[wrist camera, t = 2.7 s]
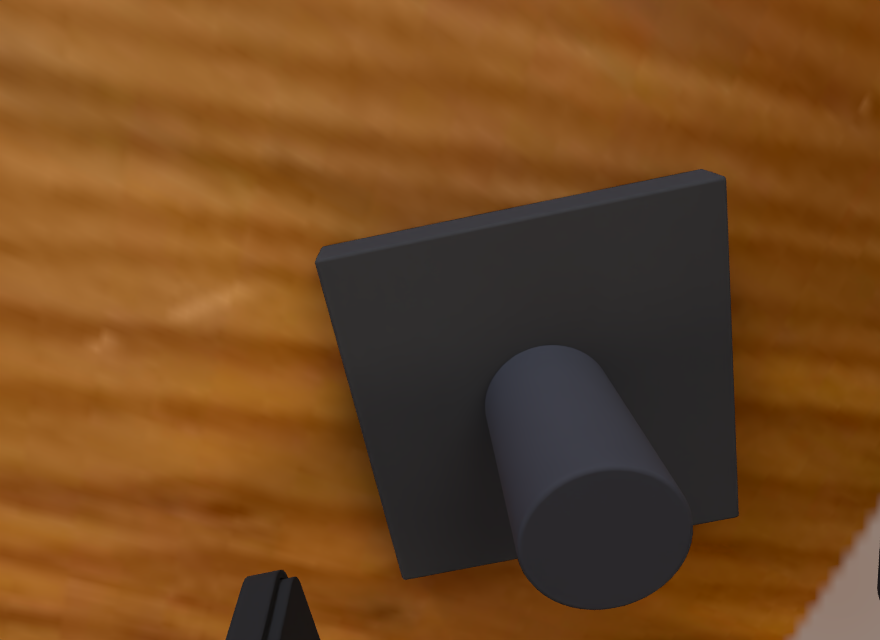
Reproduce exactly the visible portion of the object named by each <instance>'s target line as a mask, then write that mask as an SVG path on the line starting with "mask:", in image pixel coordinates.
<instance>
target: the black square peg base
mask: <svg viewBox="0 0 880 640" xmlns="http://www.w3.org/2000/svg"><path fill="white" fill-rule="evenodd" d="M315 264H316V268H317V271H318V275H319V279H320V282H321V286H322V290H323V293H324V297H325V300H326V304H327V308H328V311H329V315H330V318H331V322H332V326H333V329H334V333H335V336H336V340H337V344H338V347H339V351H340V355H341V358H342V362H343V365H344V369H345V373H346V376H347V380H348V383H349V387H350V391H351V394H352V398H353V401H354V405H355V409H356V412H357V416H358V420H359V423H360V427H361V430H362V434H363V438H364V441H365V445H366V448H367V452H368V456H369V459H370V463H371V466H372V470H373V474H374V477H375V481H376V485H377V488H378V492H379V495H380V499H381V503H382V506H383V510H384V513H385V517H386V521H387V524H388V528H389V531H390V535H391V539H392V542H393V546H394V550H395V553H396V557H397V560H398V564H399V568H400V571H401V575H402V577H403V579H404V580H407V579H412V578H418V577H423V576H428V575H433V574H439V573H444V572H449V571H455V570H460V569H465V568H470V567H476V566H481V565H486V564H491V563H497V562H502V561H507V560H513V559H518V561H519V564H520V566H521V568H522V571H523V573H524V574H525V576H526V577H527V579H528V580H529V581H530V582H531V583H532V585H533V586H534V587H535V588H536V589H537V590H539V591H540V592H541V593H542V594H544V595H545V596H547V597H548V598H550V599H552V600H553V601H556V602H558V603H560V604H563V605H566V606H569V607H573V608H579V609H589V610H601V609H610V608H616V607H620V606H625V605H628V604H630V603H633V602H636V601H638V600H640V599H643V598H645V597H647V596H648V595H650V594H652V593H653V592H655V591H656V590H658V589H659V588H660V587H662V586H663V585H664V584H665V583H666V582H668V581H669V580H670V579H671V578H672V577H673V575H674V574H675V573H676V572H677V571H678V569H679V568H680V566H681V565H682V563H683V562H684V560H685V558H686V556H687V554H688V551H689V548H690V545H691V541H692V535H693V525H697V524H702V523H708V522H713V521H718V520H724V519H729V518H734V517H737V516H738V515H739V512H738V485H737V458H736V432H735V405H734V378H733V351H732V325H731V298H730V271H729V245H728V218H727V191H726V178H725V177H724V176H721V175H718V174H715V173H712V172H709V171H707V170H703V169H700V170H695V171H690V172H686V173H681V174H676V175H671V176H666V177H661V178H656V179H651V180H647V181H642V182H637V183H632V184H627V185H622V186H617V187H612V188H607V189H603V190H598V191H593V192H588V193H583V194H578V195H573V196H568V197H563V198H559V199H554V200H549V201H544V202H539V203H534V204H529V205H524V206H520V207H515V208H510V209H505V210H500V211H495V212H490V213H485V214H480V215H476V216H471V217H466V218H461V219H456V220H451V221H446V222H441V223H437V224H432V225H427V226H422V227H417V228H412V229H407V230H402V231H397V232H393V233H388V234H383V235H378V236H373V237H368V238H363V239H358V240H353V241H349V242H344V243H339V244H334V245H329V246H324V247H322V248H321V250H320V252H319V254H318V256H317V258H316V261H315Z"/></svg>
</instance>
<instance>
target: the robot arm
mask: <svg viewBox="0 0 880 640" xmlns="http://www.w3.org/2000/svg"><path fill="white" fill-rule="evenodd" d="M877 589H878V595H879V599H880V551H879V568H878V586H877ZM226 640H320V638H319V635H318V632H317V629H316V626H315V624H314V621H313V618H312V615H311V612H310V609H309V606H308V604H307V601H306V598H305V595H304V592H303V589H302V586H301V583H300V581H299V579H298V578H297V577H292V578H288V577H287V575H286V573H285V572H284V571H283V570H278V571H273V572H268V573H263V574H258V575H253V576H248V577H247V578H245V580H244V582H243V585H242V588H241V591H240V594H239V598H238V601H237V604H236V608H235V611H234V614H233V617H232V621H231V624H230V627H229V630H228V634H227V637H226Z"/></svg>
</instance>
